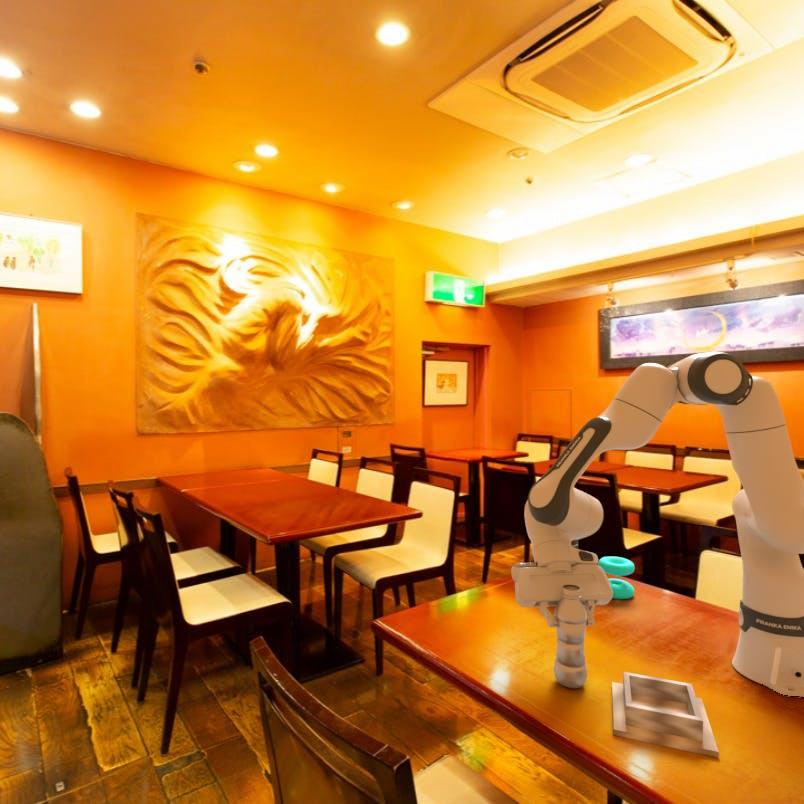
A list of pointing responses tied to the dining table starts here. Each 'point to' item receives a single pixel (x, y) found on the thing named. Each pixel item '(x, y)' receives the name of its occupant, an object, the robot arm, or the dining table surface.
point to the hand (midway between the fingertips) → (572, 625)
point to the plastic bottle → (570, 638)
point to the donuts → (618, 568)
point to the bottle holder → (661, 714)
